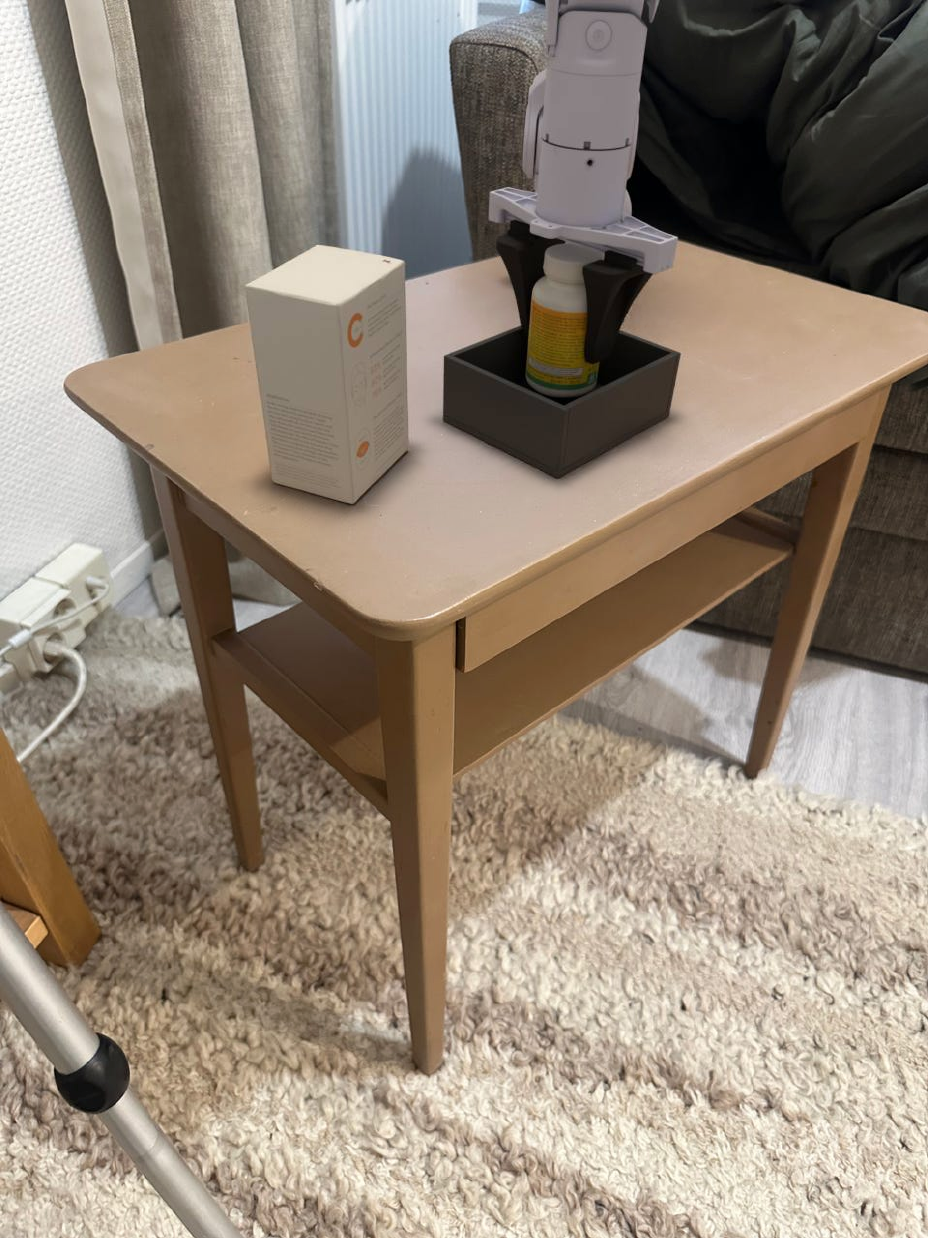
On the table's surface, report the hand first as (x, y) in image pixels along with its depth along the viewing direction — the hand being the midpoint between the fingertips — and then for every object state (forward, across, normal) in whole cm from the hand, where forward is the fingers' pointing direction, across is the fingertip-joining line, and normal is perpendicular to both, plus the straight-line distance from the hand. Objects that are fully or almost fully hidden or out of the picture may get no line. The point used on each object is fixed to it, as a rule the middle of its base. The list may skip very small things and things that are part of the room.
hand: (564, 345), depth 65 cm
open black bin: (+4, +2, -2) cm, 5 cm away
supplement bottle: (+3, 0, 0) cm, 3 cm away
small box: (+5, -4, -18) cm, 19 cm away
